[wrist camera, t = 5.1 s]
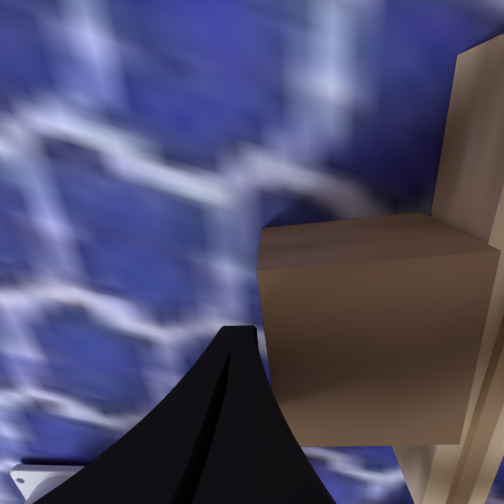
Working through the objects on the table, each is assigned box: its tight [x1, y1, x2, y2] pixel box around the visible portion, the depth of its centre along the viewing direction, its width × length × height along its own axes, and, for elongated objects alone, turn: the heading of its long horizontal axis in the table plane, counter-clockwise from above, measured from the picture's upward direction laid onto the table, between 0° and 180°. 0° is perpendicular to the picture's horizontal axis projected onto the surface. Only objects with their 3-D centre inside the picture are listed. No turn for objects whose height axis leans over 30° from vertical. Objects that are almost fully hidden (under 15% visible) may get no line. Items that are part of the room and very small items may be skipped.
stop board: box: [392, 34, 504, 504], centre depth 10 cm, size 18×2×3 cm, turn 4°
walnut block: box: [256, 212, 501, 447], centre depth 10 cm, size 7×6×4 cm
